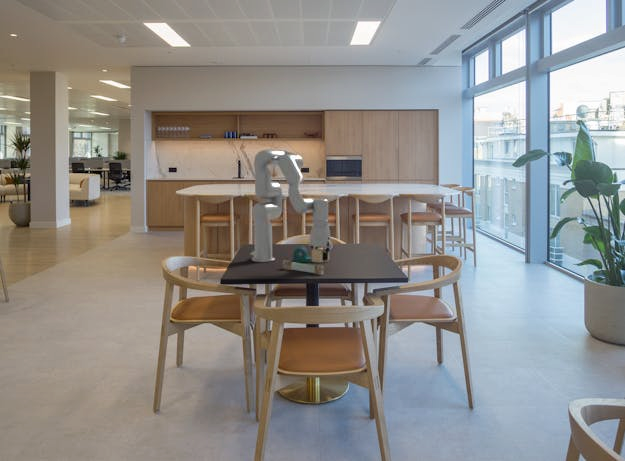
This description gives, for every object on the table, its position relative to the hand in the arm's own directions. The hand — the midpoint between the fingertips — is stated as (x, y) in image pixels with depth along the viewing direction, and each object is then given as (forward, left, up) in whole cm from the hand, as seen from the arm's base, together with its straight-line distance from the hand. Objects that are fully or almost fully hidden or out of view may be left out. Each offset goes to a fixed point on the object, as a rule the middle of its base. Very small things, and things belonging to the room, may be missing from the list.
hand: (320, 259), depth 292 cm
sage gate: (-2, -10, -5) cm, 12 cm away
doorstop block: (0, 0, -1) cm, 1 cm away
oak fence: (-3, -11, -5) cm, 12 cm away
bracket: (-17, +13, -5) cm, 22 cm away
